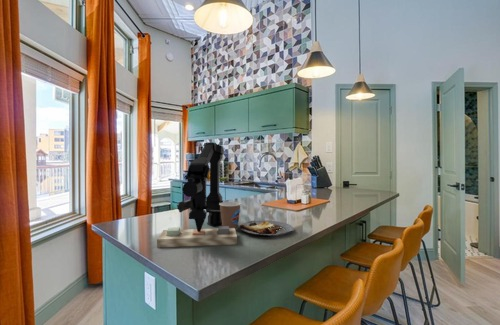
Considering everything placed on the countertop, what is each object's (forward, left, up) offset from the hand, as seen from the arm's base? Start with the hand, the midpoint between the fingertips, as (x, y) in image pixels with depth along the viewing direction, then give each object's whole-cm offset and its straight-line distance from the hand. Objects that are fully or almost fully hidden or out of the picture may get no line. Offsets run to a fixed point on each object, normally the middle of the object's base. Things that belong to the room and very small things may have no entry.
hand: (198, 231), depth 102 cm
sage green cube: (+9, -5, -2) cm, 10 cm away
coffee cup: (-20, -7, -4) cm, 21 cm away
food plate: (-31, +5, -4) cm, 32 cm away
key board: (0, 0, -4) cm, 4 cm away
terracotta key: (0, 0, -3) cm, 4 cm away
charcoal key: (-9, +5, -2) cm, 10 cm away
